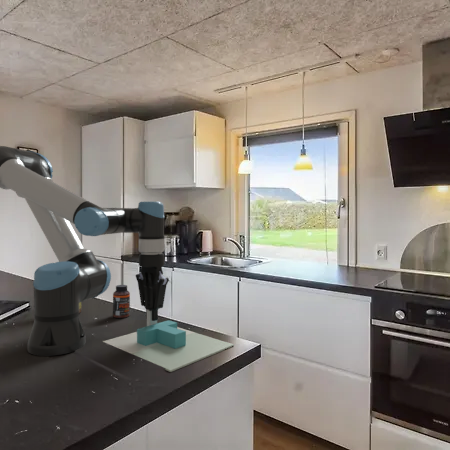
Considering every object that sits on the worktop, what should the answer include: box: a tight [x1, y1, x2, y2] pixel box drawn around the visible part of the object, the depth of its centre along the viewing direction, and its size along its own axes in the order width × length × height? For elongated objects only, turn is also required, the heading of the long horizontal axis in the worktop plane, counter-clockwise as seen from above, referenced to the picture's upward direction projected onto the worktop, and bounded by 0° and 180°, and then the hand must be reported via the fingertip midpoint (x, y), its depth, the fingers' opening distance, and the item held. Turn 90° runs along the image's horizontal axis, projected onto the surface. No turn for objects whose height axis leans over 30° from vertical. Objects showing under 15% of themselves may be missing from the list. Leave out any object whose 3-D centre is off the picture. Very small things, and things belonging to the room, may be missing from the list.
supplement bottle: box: [112, 284, 131, 319], centre depth 140 cm, size 6×6×11 cm
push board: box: [102, 326, 235, 373], centre depth 112 cm, size 24×30×1 cm
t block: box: [136, 319, 186, 349], centre depth 112 cm, size 12×12×4 cm
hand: (152, 330), depth 117 cm, fingers closed
